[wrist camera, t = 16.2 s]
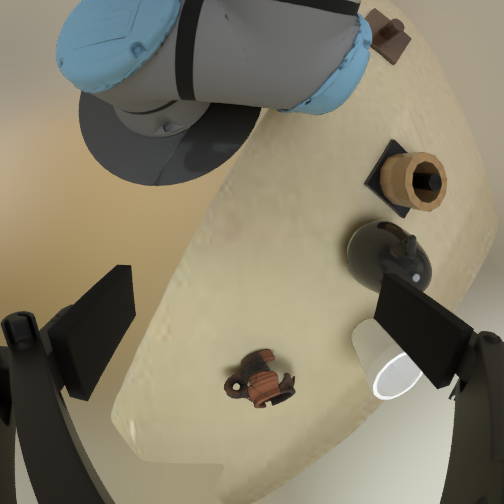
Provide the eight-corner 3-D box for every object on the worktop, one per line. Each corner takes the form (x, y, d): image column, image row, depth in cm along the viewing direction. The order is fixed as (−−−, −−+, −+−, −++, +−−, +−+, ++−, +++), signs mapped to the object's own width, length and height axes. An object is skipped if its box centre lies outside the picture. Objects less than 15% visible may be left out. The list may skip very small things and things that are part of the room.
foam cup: (365, 302, 45) (404, 341, 32) (397, 321, 47) (435, 359, 34) (333, 345, 46) (360, 393, 34) (366, 360, 48) (396, 403, 36)
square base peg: (363, 183, 39) (399, 188, 30) (391, 139, 38) (429, 134, 28) (401, 217, 41) (439, 229, 32) (425, 175, 40) (465, 178, 30)
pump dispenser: (385, 205, 41) (449, 222, 26) (397, 264, 43) (454, 299, 29) (330, 227, 41) (379, 255, 26) (346, 287, 44) (392, 335, 29)
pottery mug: (286, 341, 46) (306, 382, 40) (277, 365, 52) (293, 401, 46) (216, 358, 42) (232, 404, 36) (217, 380, 48) (230, 419, 43)
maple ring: (371, 184, 38) (396, 186, 32) (395, 144, 37) (421, 141, 30) (404, 214, 40) (430, 222, 33) (426, 176, 39) (453, 178, 32)
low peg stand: (353, 33, 33) (367, 19, 27) (372, 10, 31) (386, -3, 26) (392, 65, 34) (410, 55, 29) (408, 40, 33) (425, 30, 27)
